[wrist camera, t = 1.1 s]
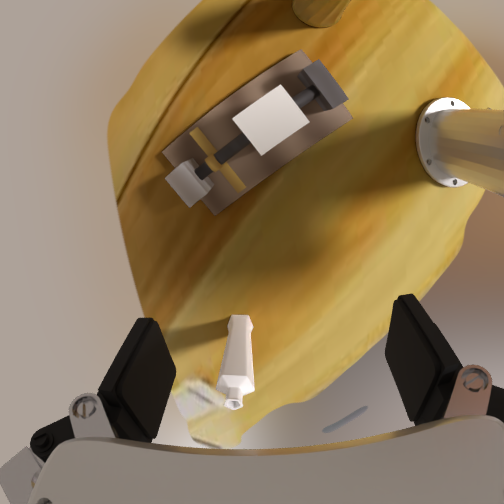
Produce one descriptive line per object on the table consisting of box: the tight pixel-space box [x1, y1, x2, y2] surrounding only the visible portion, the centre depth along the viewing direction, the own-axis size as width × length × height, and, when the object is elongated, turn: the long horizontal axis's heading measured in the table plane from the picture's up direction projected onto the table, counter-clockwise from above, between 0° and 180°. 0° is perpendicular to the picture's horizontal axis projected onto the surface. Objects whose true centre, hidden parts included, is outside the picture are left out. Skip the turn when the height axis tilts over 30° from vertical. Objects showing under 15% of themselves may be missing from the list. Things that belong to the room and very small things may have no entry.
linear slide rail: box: [162, 50, 353, 216], centre depth 29 cm, size 20×10×6 cm, turn 127°
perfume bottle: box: [216, 315, 255, 410], centre depth 36 cm, size 5×4×15 cm
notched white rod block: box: [232, 85, 309, 156], centre depth 25 cm, size 5×4×8 cm
